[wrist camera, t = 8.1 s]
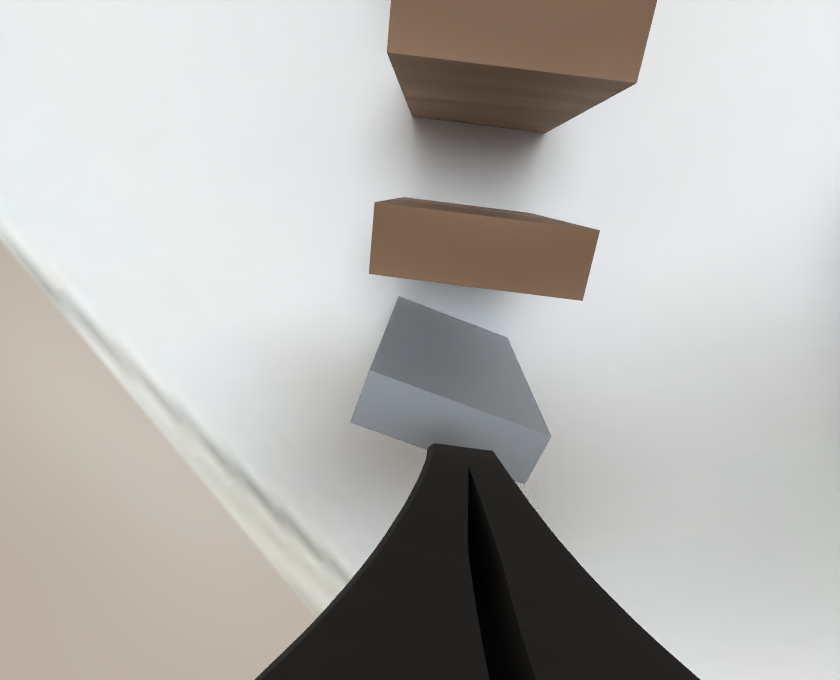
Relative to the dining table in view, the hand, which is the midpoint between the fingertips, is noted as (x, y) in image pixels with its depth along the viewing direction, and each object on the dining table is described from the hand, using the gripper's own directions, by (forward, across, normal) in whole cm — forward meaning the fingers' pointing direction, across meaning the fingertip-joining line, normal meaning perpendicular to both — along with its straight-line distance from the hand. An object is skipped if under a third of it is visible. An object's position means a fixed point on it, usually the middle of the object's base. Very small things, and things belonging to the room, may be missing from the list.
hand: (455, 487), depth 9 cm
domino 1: (+10, 0, -9) cm, 14 cm away
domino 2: (+10, 0, -4) cm, 11 cm away
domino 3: (+10, 0, 0) cm, 10 cm away
